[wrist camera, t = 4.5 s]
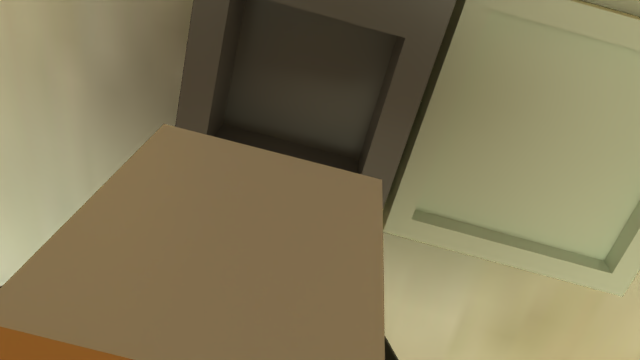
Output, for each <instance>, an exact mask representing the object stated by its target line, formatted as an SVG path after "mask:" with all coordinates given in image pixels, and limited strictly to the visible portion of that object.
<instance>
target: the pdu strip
mask: <svg viewBox="0 0 640 360" xmlns="http://www.w3.org/2000/svg"><path fill="white" fill-rule="evenodd" d="M455 3H456V0H193V7H192V14H191V21H190V28H189V35H188V42H187V49H186V56H185V63H184V70H183V77H182V84H181V91H180V97H179V104H178V111H177V118H176V125H175V127H178V128H182V129H186V130H190V131H194V132H198V133H202V134H206V135H210V136H213V137H217V138H221V139H225V140H229V141H233V142H237V143H241V144H245V145H249V146H252V147H256V148H260V149H264V150H268V151H272V152H276V153H280V154H284V155H288V156H291V157H295V158H299V159H303V160H307V161H311V162H315V163H319V164H323V165H326V166H330V167H334V168H338V169H342V170H346V171H350V172H354V173H358V174H362V175H365V176H369V177H373V178H377V179H381V180H382V202H383V208H384V205H385V202H386V199H387V196H388V194H389V191H390V188H391V185H392V182H393V179H394V176H395V174H396V171H397V168H398V165H399V162H400V159H401V157H402V154H403V151H404V148H405V145H406V142H407V139H408V137H409V134H410V131H411V128H412V125H413V122H414V119H415V117H416V114H417V111H418V108H419V105H420V102H421V100H422V97H423V94H424V91H425V88H426V85H427V82H428V80H429V77H430V74H431V71H432V68H433V65H434V63H435V60H436V57H437V54H438V51H439V48H440V45H441V43H442V40H443V37H444V34H445V31H446V28H447V26H448V23H449V20H450V17H451V14H452V11H453V8H454V6H455Z"/></svg>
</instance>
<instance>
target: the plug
mask: <svg viewBox="0 0 640 360" xmlns="http://www.w3.org/2000/svg"><path fill="white" fill-rule="evenodd" d="M0 360H385V335H384V268H383V202H382V180H381V179H377V178H373V177H369V176H365V175H362V174H358V173H354V172H350V171H346V170H342V169H338V168H334V167H330V166H326V165H323V164H319V163H315V162H311V161H307V160H303V159H299V158H295V157H291V156H288V155H284V154H280V153H276V152H272V151H268V150H264V149H260V148H256V147H252V146H249V145H245V144H241V143H237V142H233V141H229V140H225V139H221V138H217V137H213V136H210V135H206V134H202V133H198V132H194V131H190V130H186V129H182V128H178V127H175V126H171V125H167V124H164V125H163V126H162V127H161V128H160V129H159V130H158V131H157V132H156V133H155V134H154V135H153V136H152V137H151V138H150V139H149V140H148V141H147V142H146V143H145V144H144V145H143V146H142V147H141V148H140V149H139V150H138V151H137V152H136V153H135V154H134V155H133V156H132V157H131V158H130V159H129V160H128V161H127V162H126V163H125V164H124V165H123V166H122V167H121V168H120V169H119V170H118V171H117V172H116V173H115V174H114V175H113V176H112V177H111V178H110V179H109V180H108V181H107V182H106V183H105V184H104V185H103V186H102V187H101V188H100V189H99V190H98V191H97V192H96V193H95V194H94V195H93V196H92V197H91V198H90V199H89V200H88V201H87V202H86V203H85V204H84V205H83V206H82V207H81V208H80V209H79V210H78V211H77V212H76V213H75V214H74V215H73V216H72V217H71V218H70V219H69V220H68V221H67V222H66V223H65V224H64V225H63V226H62V227H61V228H60V229H59V230H58V231H57V232H56V233H55V234H54V235H53V236H52V237H51V238H50V239H49V240H48V241H47V242H46V243H45V244H44V245H43V246H42V247H41V248H40V249H39V250H38V251H37V252H36V253H35V254H34V255H33V256H32V257H31V258H30V259H29V260H28V261H27V262H26V263H25V264H24V265H23V266H22V267H21V268H20V269H19V270H18V271H17V272H16V273H15V274H14V275H13V276H12V277H11V278H10V279H9V280H8V281H7V282H6V283H5V284H4V285H3V286H2V287H1V288H0Z"/></svg>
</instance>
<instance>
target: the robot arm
mask: <svg viewBox="0 0 640 360" xmlns="http://www.w3.org/2000/svg"><path fill="white" fill-rule="evenodd" d="M1 287H2V286H1ZM1 287H0V288H1ZM385 360H398V358H397V356H396V355H395V353H394V351H393V349H392V347H391V346H390V344H389V342H388V340H387V339H386V337H385Z"/></svg>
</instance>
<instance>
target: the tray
mask: <svg viewBox="0 0 640 360" xmlns="http://www.w3.org/2000/svg"><path fill="white" fill-rule="evenodd" d="M383 232H384V233H388V234H392V235H395V236H399V237H403V238H406V239H410V240H414V241H417V242H421V243H425V244H429V245H432V246H436V247H440V248H443V249H447V250H451V251H455V252H458V253H462V254H466V255H469V256H473V257H477V258H481V259H484V260H488V261H492V262H495V263H499V264H503V265H507V266H510V267H514V268H518V269H521V270H525V271H529V272H532V273H536V274H540V275H544V276H547V277H551V278H555V279H558V280H562V281H566V282H570V283H573V284H577V285H581V286H584V287H588V288H592V289H596V290H599V291H603V292H607V293H610V294H614V295H618V296H622V297H623V296H624V294H625V292H626V291H627V289H628V288H629V286H630V285H631V283H632V281H633V280H634V278H635V277H636V275H637V273H638V272H639V270H640V17H638V16H634V15H631V14H627V13H624V12H620V11H617V10H613V9H610V8H606V7H603V6H599V5H596V4H592V3H588V2H585V1H581V0H456V3H455V6H454V9H453V12H452V15H451V17H450V20H449V23H448V26H447V29H446V32H445V35H444V37H443V40H442V43H441V46H440V49H439V52H438V54H437V57H436V60H435V63H434V66H433V69H432V72H431V74H430V77H429V80H428V83H427V86H426V89H425V91H424V94H423V97H422V100H421V103H420V106H419V109H418V111H417V114H416V117H415V120H414V123H413V126H412V128H411V131H410V134H409V137H408V140H407V143H406V145H405V148H404V151H403V154H402V157H401V160H400V163H399V165H398V168H397V171H396V174H395V177H394V180H393V182H392V185H391V188H390V191H389V194H388V197H387V200H386V202H385V205H384V208H383Z"/></svg>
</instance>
